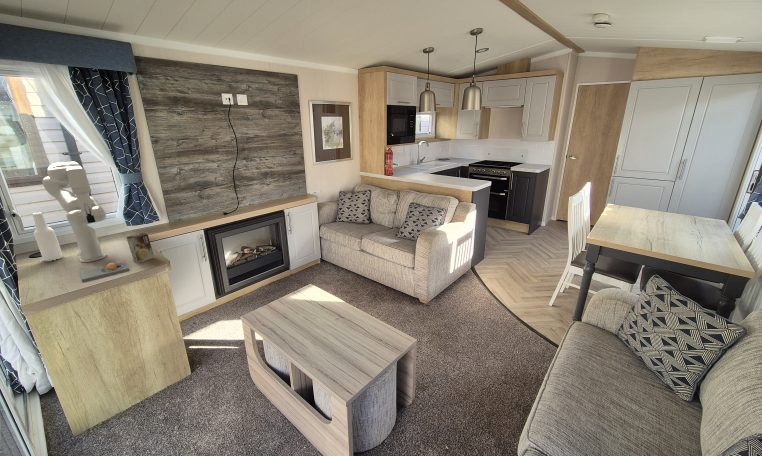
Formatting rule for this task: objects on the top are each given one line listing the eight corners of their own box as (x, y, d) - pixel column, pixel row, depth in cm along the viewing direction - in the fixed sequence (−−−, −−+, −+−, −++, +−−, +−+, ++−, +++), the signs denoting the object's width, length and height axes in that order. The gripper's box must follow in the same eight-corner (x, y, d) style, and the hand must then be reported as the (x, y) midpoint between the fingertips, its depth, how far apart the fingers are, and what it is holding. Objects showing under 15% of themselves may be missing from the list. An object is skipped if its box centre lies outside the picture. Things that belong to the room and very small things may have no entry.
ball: (119, 265, 181) (113, 272, 180) (117, 264, 184) (112, 270, 183) (110, 262, 178) (105, 269, 177) (109, 260, 181) (103, 267, 179)
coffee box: (149, 256, 201) (143, 232, 195) (154, 258, 197) (148, 233, 192) (133, 261, 193) (126, 236, 188) (137, 263, 190) (130, 238, 185)
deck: (82, 282, 167) (81, 279, 167) (81, 273, 177) (80, 271, 177) (129, 270, 180) (128, 268, 180) (126, 263, 190) (125, 260, 190)
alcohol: (67, 256, 202) (51, 211, 192) (51, 262, 193) (34, 215, 184) (55, 255, 203) (39, 210, 193) (39, 261, 195) (21, 214, 185)
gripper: (72, 189, 176) (82, 221, 181) (72, 193, 165) (83, 226, 171) (90, 187, 180) (99, 218, 186) (91, 191, 170) (101, 223, 176)
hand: (91, 222), depth 179 cm, fingers closed
